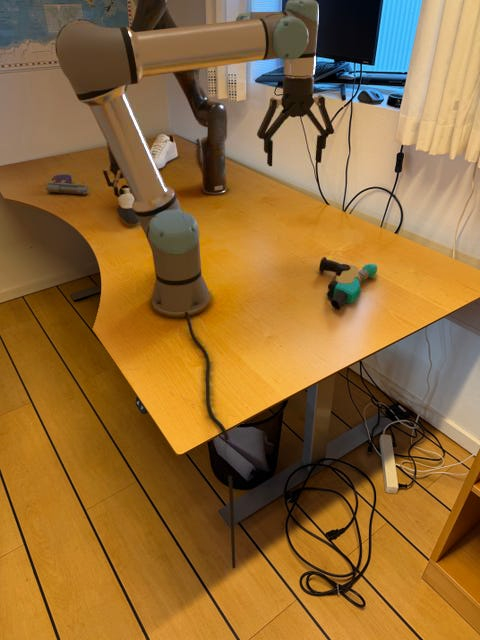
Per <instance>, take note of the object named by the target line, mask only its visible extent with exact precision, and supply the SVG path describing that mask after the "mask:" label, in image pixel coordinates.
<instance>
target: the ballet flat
mask: <svg viewBox="0 0 480 640" xmlns="http://www.w3.org/2000/svg"><path fill="white" fill-rule="evenodd" d="M118 193H119V197H117V201H118V206H117V209H116V213H117V214H118V216H119V218H120V219H121V220H122V222H123V223H125V224H126V225H128V226H137V225H140V222H139V220H138V218H137V216H136V214H135V212H134V210H133V208H132V205H133V202H134V197H133V195H132V193H131V191H130V189H129V187H128V185H127V184H123V185H122V186H121V187H120V188H119V189H118Z"/></svg>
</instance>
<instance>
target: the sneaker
mask: <svg viewBox="0 0 480 640" xmlns="http://www.w3.org/2000/svg"><path fill="white" fill-rule="evenodd" d="M150 151H151V153H152V155H153V158H154V160H155V162H156V165H157V167H158V169H159V170H160V169H162V168H164V167H165V166H166V164H167V163H168V162H170V161H172V160H175V159H176V158H177V157H178V156H179V155H178V149H177V144H176V140H175V136H174V135H173V134H164V133H161V134H158V135H157V137H156V139H155V140H154V142H153V143H152V146H151V148H150Z"/></svg>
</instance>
